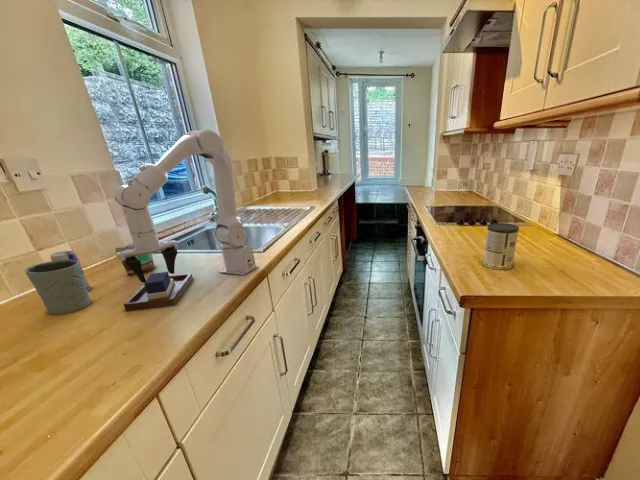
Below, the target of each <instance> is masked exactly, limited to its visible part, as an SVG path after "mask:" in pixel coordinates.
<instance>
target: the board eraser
mask: <svg viewBox="0 0 640 480" xmlns="http://www.w3.org/2000/svg"><path fill="white" fill-rule="evenodd" d="M169 276H170V273H169V272H168V271H161V272H154V273H149V275H148V277H147V278H146V282H144V283H143V285H145V288H146V290H147V297H148V300H151V299H157V298H164V297H168V296H169V294H170V292H171V289H172V287H173V285H174V280H173V278H171V279H170V277H169Z"/></svg>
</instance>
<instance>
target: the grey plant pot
mask: <svg viewBox="0 0 640 480" xmlns="http://www.w3.org/2000/svg"><path fill="white" fill-rule="evenodd" d="M79 263H80V261H79V260H78V261H77V260H57V261H45V262H42V263H41V262H40V263H37V264H34V265H31V266H29V267H26V268H25V269H24V272H25V274H26V276H27V278H28V279H29V281H30V283H31V284H32V286H33V287H34V289H35V290H36V292H37V294H38V296H39V297H40V299H41V300H42V302H43V305H44V307H45V309H46V310H47V312H48V313H49V314H51V315H63V314H69V313H73V312H76V311H80V310H82V309H84V308H86V307H88V306H90V305H91V302H92V301H91V297H90V295H89V291H87V290H86V285H85V283H84V278H83V274H82V271H81V268H82V266H81V267H80V265H81V263H80V264H79Z"/></svg>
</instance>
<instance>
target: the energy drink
mask: <svg viewBox="0 0 640 480" xmlns="http://www.w3.org/2000/svg"><path fill="white" fill-rule="evenodd" d="M50 260H51V261H57V260H77V261H79V259H78V256H77V254H76V253H75V251H73V250H64V251H58V252H54V253H51V254H50ZM79 264H80V267H81V271H82V274H83V278H84V283H85V285H86V290H87V292H89V291H90V289H91V286H90V284H89V282H88V279H87V277H86V275H85V273H84V270H83V268H82V265H81V263H80V262H79Z"/></svg>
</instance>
